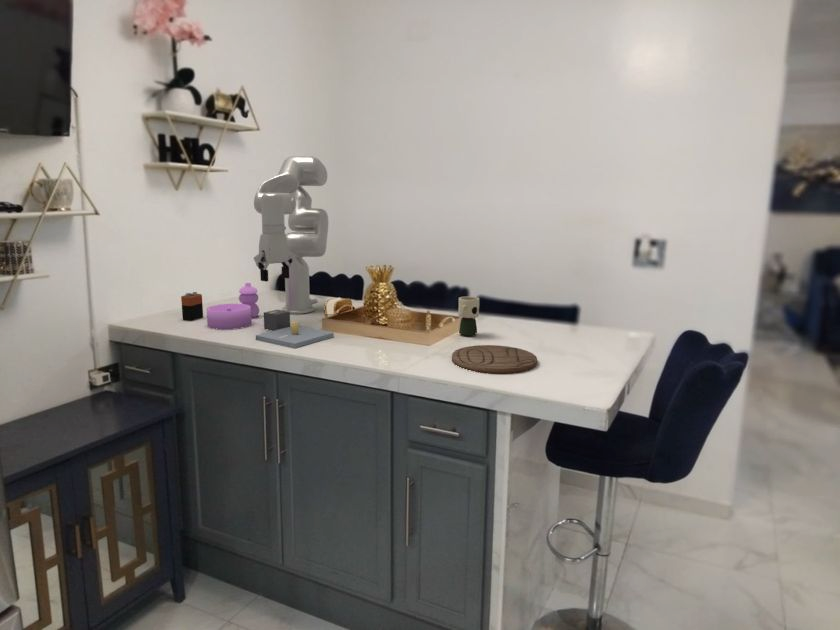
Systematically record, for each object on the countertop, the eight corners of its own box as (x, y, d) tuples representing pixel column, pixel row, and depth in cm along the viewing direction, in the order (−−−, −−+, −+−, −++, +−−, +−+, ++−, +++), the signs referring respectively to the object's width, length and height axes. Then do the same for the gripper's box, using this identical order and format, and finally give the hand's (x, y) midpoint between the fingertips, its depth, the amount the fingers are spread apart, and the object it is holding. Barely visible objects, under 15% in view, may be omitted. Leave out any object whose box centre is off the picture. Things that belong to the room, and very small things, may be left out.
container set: (236, 331, 212) (234, 293, 209) (198, 327, 216) (196, 291, 213) (272, 316, 235) (270, 283, 233) (237, 313, 239) (235, 280, 236)
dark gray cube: (277, 325, 220) (277, 309, 218) (290, 328, 216) (289, 311, 215) (264, 329, 215) (263, 311, 213) (276, 331, 211) (276, 314, 210)
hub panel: (295, 329, 215) (295, 314, 213) (333, 337, 205) (333, 321, 204) (255, 339, 200) (255, 323, 199) (294, 348, 190) (294, 331, 189)
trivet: (527, 351, 192) (527, 345, 192) (545, 375, 167) (546, 368, 167) (448, 350, 191) (448, 344, 191) (455, 375, 167) (455, 368, 166)
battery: (182, 320, 227) (180, 293, 225) (194, 316, 233) (193, 290, 231) (191, 321, 225) (189, 294, 223) (203, 317, 232) (202, 291, 229)
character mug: (471, 339, 204) (472, 301, 201) (452, 337, 207) (453, 299, 204) (483, 333, 213) (484, 296, 210) (464, 330, 216) (465, 294, 213)
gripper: (284, 228, 217) (286, 275, 221) (246, 230, 203) (248, 281, 206) (299, 229, 213) (300, 277, 216) (261, 231, 199) (263, 283, 202)
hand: (275, 279), depth 211 cm, fingers open, 9 cm apart
